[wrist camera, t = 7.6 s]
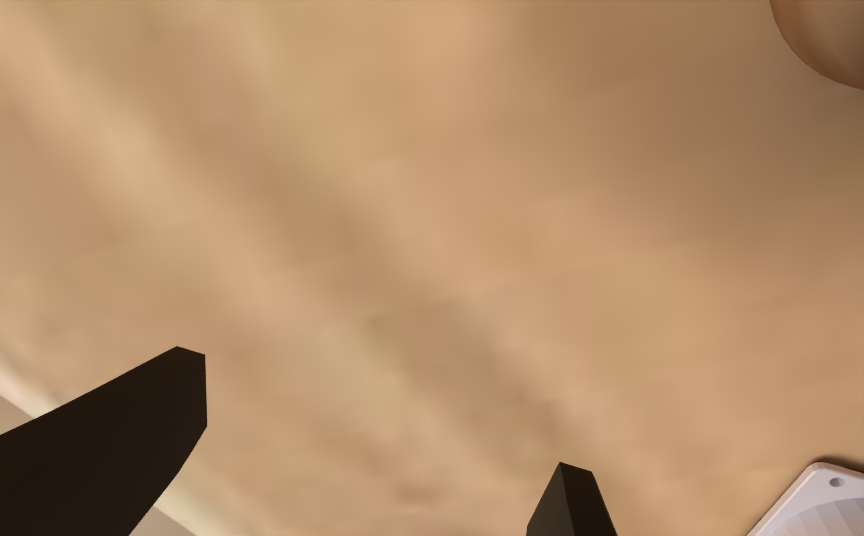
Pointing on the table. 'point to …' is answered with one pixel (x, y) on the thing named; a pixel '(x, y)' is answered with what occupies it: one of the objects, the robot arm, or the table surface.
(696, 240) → the table surface
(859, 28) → the pedestal
